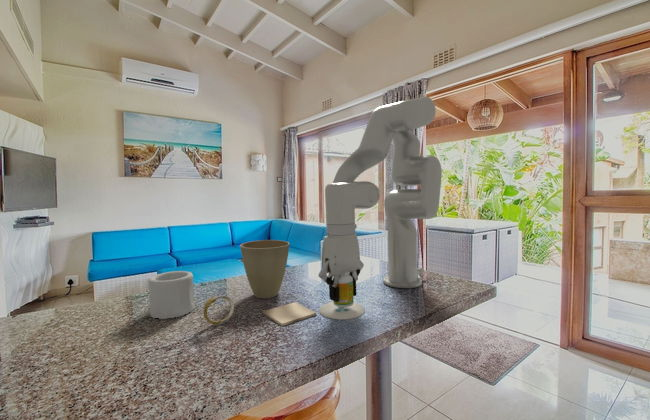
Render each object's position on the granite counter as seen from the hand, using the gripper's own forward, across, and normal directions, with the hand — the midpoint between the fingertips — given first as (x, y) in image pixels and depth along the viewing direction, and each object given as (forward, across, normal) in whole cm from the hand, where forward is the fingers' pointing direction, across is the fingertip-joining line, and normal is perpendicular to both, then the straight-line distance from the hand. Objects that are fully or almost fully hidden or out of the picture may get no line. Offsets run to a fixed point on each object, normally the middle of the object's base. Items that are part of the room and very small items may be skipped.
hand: (343, 296), depth 81 cm
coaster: (+3, +1, 0) cm, 3 cm away
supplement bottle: (+2, 0, 0) cm, 2 cm away
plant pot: (+3, +10, -25) cm, 27 cm away
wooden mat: (+3, +13, -7) cm, 15 cm away
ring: (+3, +29, -13) cm, 32 cm away
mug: (+3, +36, -31) cm, 47 cm away
